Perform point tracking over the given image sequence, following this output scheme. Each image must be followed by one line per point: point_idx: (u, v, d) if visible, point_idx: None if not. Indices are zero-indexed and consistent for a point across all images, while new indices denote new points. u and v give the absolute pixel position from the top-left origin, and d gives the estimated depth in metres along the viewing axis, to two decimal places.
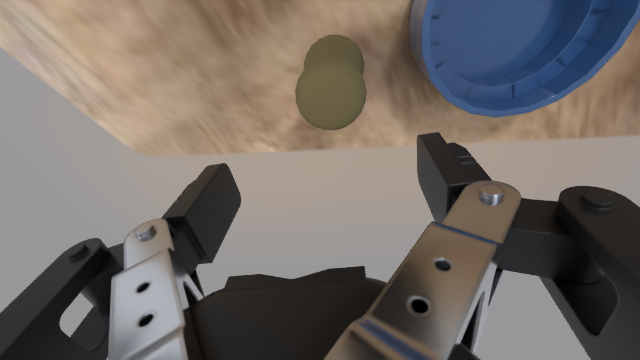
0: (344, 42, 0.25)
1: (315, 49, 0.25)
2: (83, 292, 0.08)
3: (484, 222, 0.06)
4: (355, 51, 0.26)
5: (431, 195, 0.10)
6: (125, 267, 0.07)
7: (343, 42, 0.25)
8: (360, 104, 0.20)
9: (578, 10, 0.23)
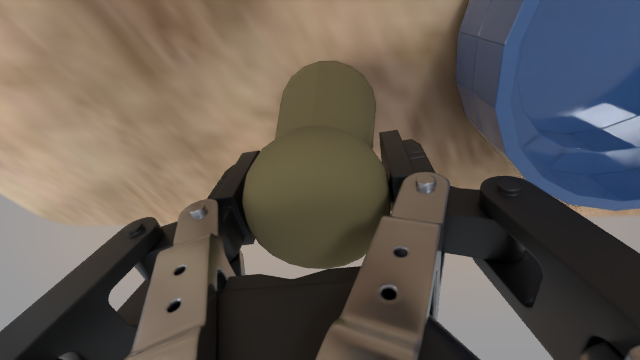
0: (345, 76, 0.15)
1: (294, 88, 0.15)
2: (140, 268, 0.08)
3: (425, 208, 0.07)
4: (364, 91, 0.15)
5: None
6: (174, 242, 0.08)
7: (343, 76, 0.15)
8: None
9: None
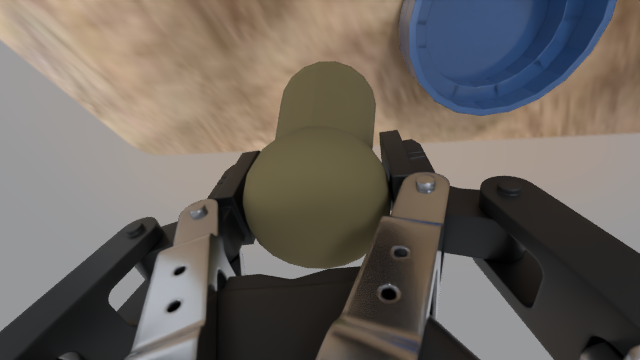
0: (345, 76, 0.15)
1: (294, 88, 0.15)
2: (140, 268, 0.08)
3: (425, 208, 0.07)
4: (363, 91, 0.15)
5: None
6: (174, 243, 0.08)
7: (343, 76, 0.15)
8: None
9: (554, 17, 0.25)
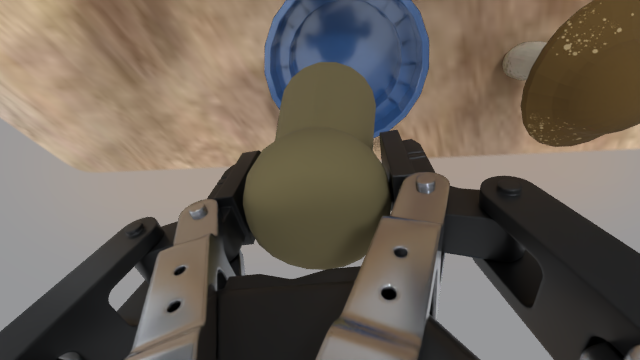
0: (345, 76, 0.15)
1: (295, 89, 0.15)
2: (140, 268, 0.08)
3: (425, 208, 0.07)
4: (364, 92, 0.15)
5: None
6: (174, 243, 0.08)
7: (343, 77, 0.15)
8: None
9: (399, 61, 0.29)
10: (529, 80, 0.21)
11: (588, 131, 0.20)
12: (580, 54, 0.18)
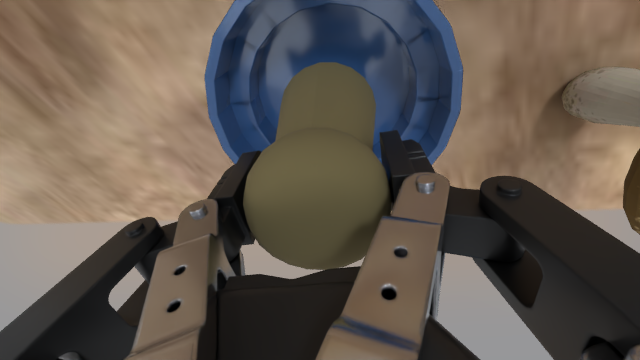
0: (345, 77, 0.15)
1: (295, 89, 0.15)
2: (140, 268, 0.08)
3: (425, 208, 0.07)
4: (364, 92, 0.15)
5: None
6: (174, 242, 0.08)
7: (343, 77, 0.15)
8: None
9: (412, 94, 0.20)
10: None
11: None
12: None
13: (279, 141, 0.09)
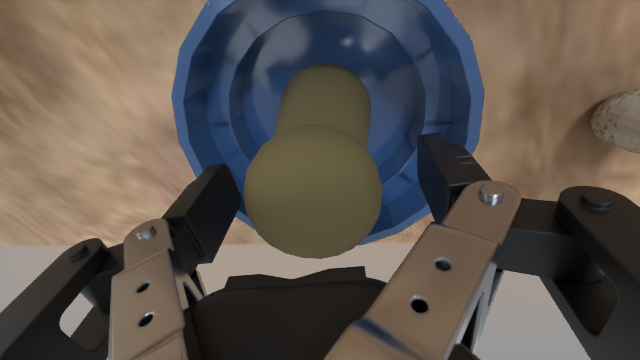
0: (341, 78, 0.16)
1: (293, 89, 0.15)
2: (83, 292, 0.08)
3: (485, 222, 0.06)
4: (359, 92, 0.16)
5: (431, 195, 0.10)
6: (125, 267, 0.07)
7: (339, 78, 0.15)
8: (372, 223, 0.10)
9: (420, 116, 0.17)
10: None
11: None
12: None
13: (277, 137, 0.10)
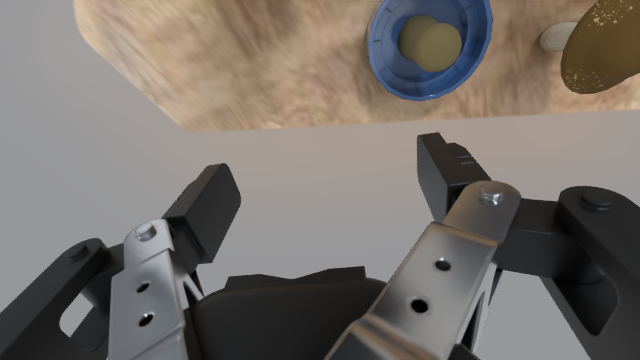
0: (432, 18, 0.37)
1: (413, 23, 0.37)
2: (83, 292, 0.08)
3: (484, 222, 0.06)
4: None
5: (431, 195, 0.10)
6: (125, 267, 0.07)
7: (432, 18, 0.37)
8: (458, 52, 0.31)
9: (463, 37, 0.39)
10: (568, 44, 0.31)
11: (609, 77, 0.30)
12: (605, 24, 0.28)
13: (430, 25, 0.31)
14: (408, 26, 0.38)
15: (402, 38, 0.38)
